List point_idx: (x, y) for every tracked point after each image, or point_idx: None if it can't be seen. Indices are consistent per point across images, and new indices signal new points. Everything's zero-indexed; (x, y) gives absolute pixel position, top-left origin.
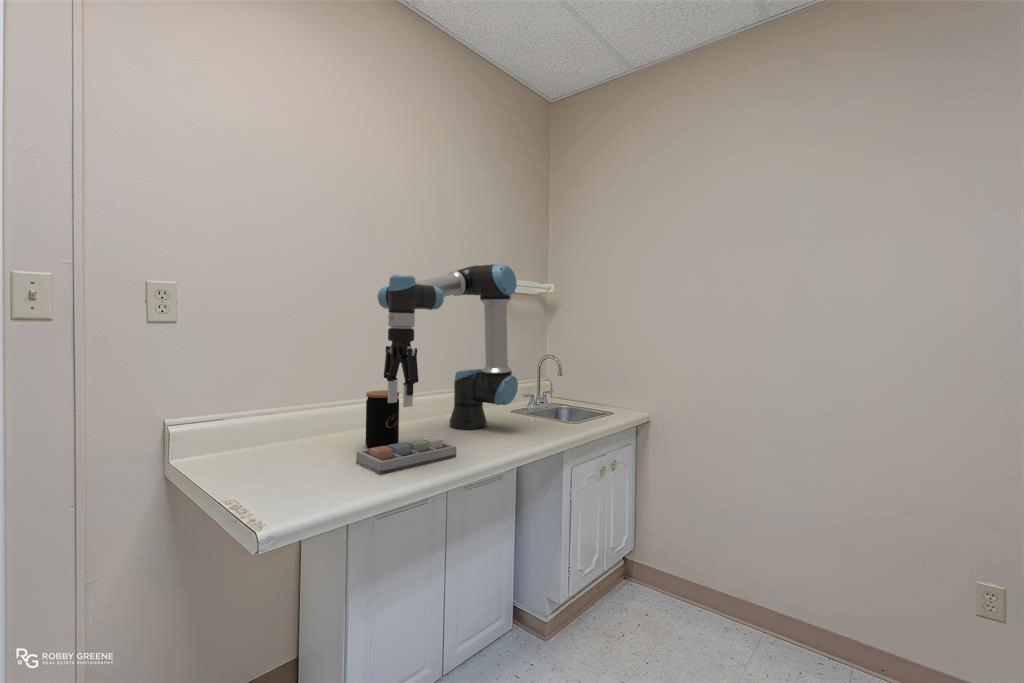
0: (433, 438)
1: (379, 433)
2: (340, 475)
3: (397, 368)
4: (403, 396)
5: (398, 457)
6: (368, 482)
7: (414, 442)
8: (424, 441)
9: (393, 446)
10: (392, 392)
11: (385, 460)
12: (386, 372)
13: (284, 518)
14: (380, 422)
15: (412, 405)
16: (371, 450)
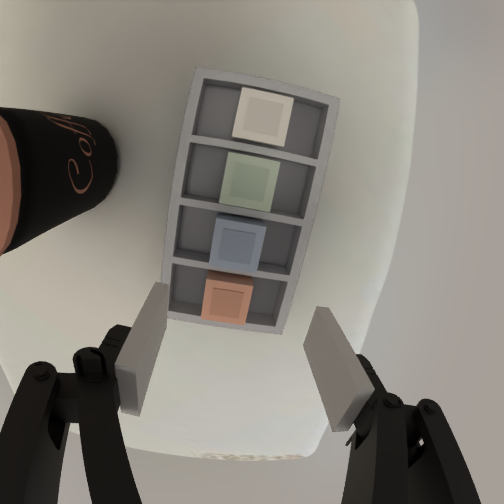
0: (265, 114)
1: (86, 206)
2: (217, 362)
3: (134, 481)
4: (316, 379)
5: (286, 285)
6: (292, 353)
7: (253, 195)
8: (265, 159)
9: (234, 267)
10: (155, 345)
11: (280, 320)
12: (65, 445)
13: (301, 444)
14: (70, 212)
15: (329, 310)
16: (211, 318)
